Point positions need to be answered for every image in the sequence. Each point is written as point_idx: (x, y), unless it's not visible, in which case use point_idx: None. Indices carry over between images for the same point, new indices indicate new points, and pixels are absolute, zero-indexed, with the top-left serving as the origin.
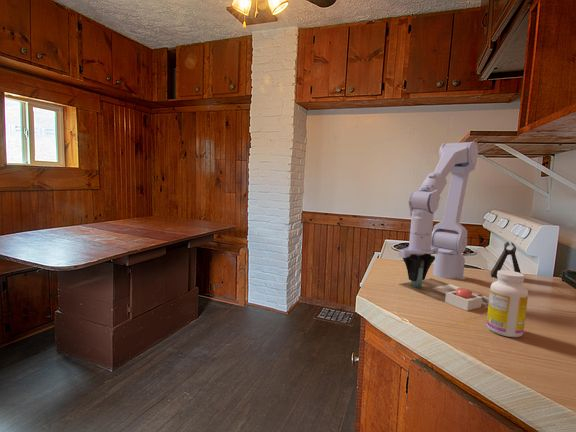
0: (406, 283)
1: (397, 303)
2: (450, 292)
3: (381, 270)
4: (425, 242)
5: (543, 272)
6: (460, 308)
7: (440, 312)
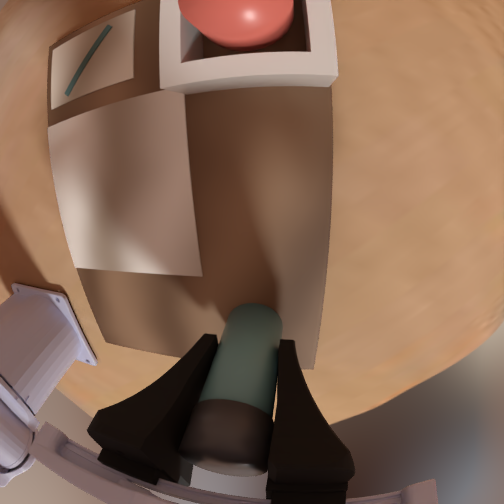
0: None
1: (487, 234)
2: (293, 65)
3: None
4: None
5: None
6: None
7: (418, 61)
